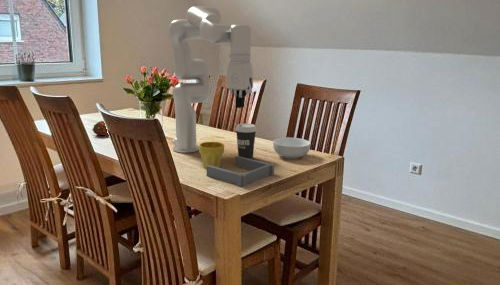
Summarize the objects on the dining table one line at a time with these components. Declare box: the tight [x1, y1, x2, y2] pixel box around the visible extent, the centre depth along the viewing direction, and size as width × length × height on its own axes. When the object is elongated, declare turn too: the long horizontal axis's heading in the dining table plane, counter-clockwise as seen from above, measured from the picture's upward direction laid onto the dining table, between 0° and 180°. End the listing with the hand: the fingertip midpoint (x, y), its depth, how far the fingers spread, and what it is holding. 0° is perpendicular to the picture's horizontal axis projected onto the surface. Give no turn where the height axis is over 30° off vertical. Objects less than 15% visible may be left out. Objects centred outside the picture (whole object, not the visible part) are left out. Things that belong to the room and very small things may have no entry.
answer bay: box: [206, 155, 275, 187], centre depth 174 cm, size 19×20×4 cm
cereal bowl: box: [272, 136, 311, 160], centre depth 201 cm, size 17×17×7 cm
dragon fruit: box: [91, 120, 109, 136], centre depth 235 cm, size 8×8×12 cm
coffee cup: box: [235, 123, 258, 160], centre depth 196 cm, size 10×10×15 cm
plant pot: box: [198, 141, 225, 170], centre depth 183 cm, size 10×10×10 cm
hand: (239, 107), depth 168 cm, fingers closed
